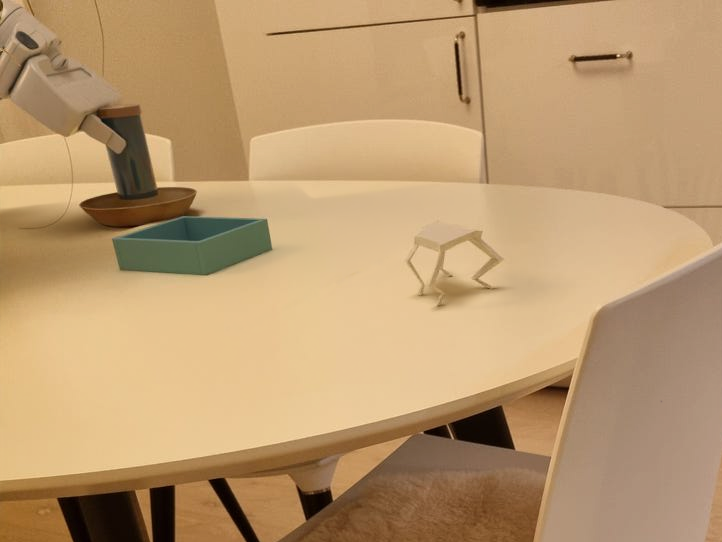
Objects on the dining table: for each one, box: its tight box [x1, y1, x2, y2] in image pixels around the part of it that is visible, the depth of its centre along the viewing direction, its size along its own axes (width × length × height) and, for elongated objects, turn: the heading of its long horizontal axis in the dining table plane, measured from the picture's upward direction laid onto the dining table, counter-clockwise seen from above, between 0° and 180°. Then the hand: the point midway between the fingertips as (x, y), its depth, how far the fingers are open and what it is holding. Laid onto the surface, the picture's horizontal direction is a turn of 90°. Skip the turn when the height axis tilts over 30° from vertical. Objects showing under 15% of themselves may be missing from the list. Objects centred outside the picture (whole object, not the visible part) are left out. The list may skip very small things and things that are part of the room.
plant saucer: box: [78, 186, 198, 228], centre depth 122 cm, size 15×15×3 cm
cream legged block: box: [404, 220, 505, 306], centre depth 84 cm, size 12×8×5 cm
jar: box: [96, 103, 159, 200], centre depth 119 cm, size 5×5×10 cm
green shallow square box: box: [111, 215, 273, 276], centre depth 98 cm, size 11×11×4 cm
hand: (131, 145), depth 118 cm, fingers closed on jar, 5 cm apart
